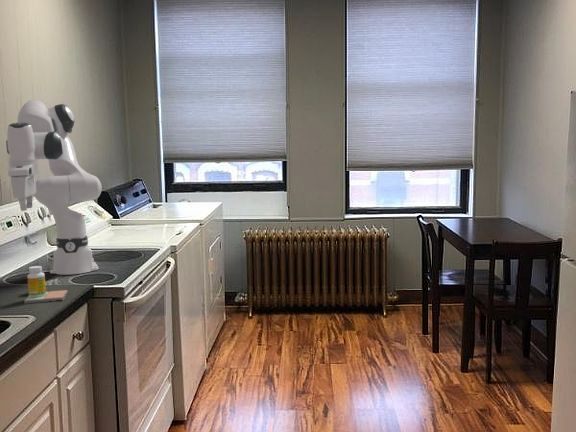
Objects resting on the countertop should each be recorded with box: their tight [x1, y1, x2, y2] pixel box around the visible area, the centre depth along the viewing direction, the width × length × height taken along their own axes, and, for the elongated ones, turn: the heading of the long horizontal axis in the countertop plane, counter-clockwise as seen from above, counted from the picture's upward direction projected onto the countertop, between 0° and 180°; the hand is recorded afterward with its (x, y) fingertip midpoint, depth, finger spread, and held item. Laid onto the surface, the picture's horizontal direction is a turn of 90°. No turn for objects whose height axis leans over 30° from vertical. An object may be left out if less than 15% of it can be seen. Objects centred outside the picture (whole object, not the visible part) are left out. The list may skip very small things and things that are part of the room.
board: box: [23, 289, 69, 305], centre depth 209 cm, size 11×12×1 cm
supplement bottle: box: [26, 265, 47, 297], centre depth 208 cm, size 5×5×10 cm
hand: (26, 209), depth 219 cm, fingers open, 8 cm apart
